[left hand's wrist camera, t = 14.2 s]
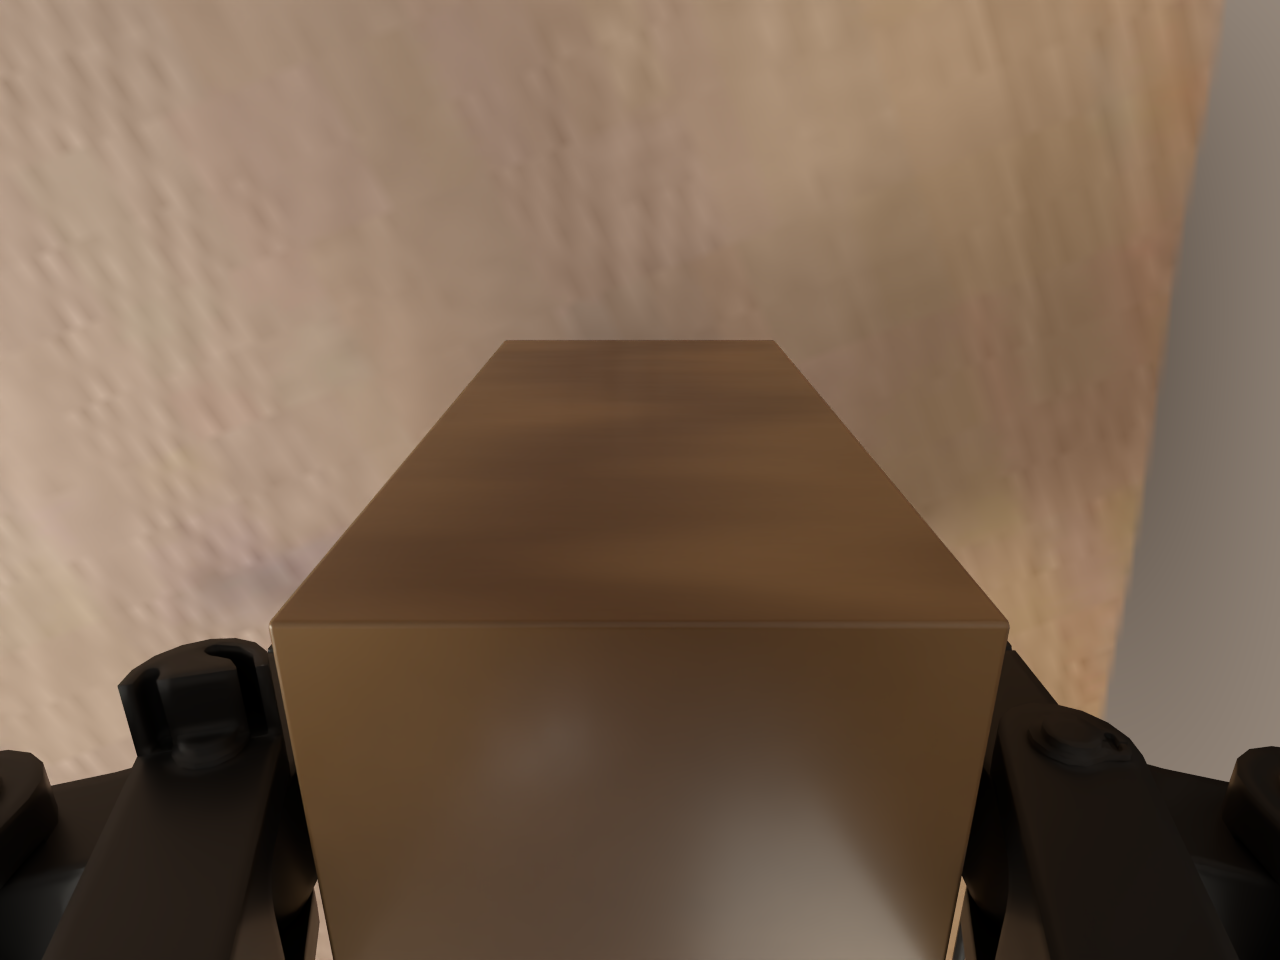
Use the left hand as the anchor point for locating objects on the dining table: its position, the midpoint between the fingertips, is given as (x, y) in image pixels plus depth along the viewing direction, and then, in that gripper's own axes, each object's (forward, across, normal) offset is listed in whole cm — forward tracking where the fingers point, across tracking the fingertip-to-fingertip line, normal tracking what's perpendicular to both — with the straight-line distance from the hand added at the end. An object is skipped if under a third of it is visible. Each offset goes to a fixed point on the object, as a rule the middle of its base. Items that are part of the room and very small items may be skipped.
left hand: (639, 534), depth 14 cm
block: (+2, 0, 0) cm, 2 cm away
